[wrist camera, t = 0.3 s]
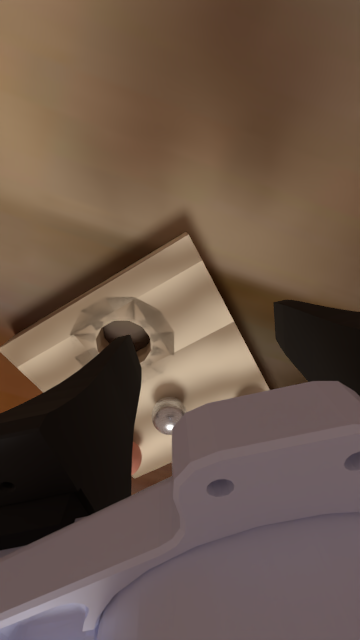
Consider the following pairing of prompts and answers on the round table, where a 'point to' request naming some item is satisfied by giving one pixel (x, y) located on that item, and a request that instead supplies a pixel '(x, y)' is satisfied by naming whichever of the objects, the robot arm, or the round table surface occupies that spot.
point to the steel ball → (167, 414)
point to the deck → (163, 348)
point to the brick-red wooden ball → (136, 458)
